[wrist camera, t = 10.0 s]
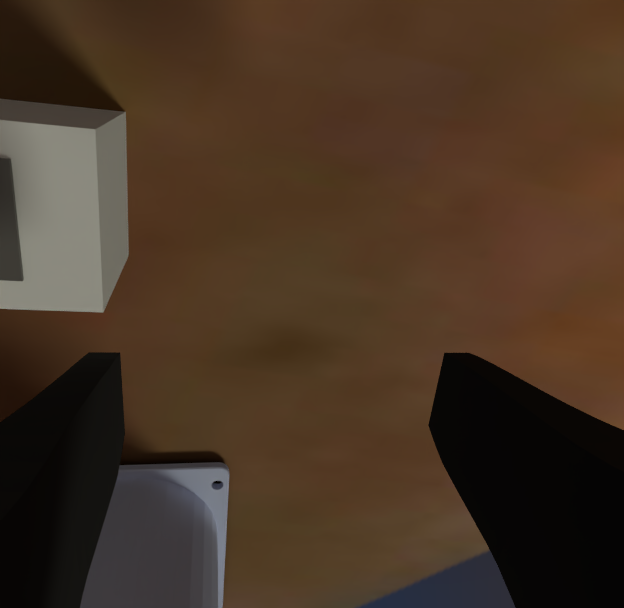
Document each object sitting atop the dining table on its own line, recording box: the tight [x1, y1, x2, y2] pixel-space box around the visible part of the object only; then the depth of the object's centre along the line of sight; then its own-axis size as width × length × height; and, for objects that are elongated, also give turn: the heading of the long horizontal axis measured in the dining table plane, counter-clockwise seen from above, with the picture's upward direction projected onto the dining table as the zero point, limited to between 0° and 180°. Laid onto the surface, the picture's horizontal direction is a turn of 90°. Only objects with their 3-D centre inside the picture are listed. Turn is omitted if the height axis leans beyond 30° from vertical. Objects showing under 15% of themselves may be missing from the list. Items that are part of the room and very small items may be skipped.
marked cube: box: [0, 99, 129, 312], centre depth 16 cm, size 5×5×5 cm
